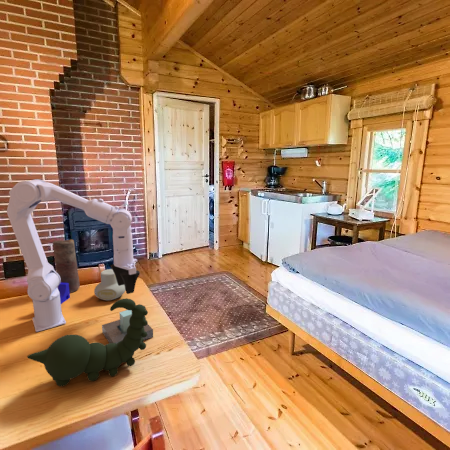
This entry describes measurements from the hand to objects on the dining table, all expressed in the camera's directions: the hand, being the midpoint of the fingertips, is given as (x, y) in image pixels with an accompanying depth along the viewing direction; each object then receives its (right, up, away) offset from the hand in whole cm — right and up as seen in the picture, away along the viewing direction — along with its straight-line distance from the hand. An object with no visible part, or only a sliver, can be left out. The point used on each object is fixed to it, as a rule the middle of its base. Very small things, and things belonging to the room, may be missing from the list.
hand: (125, 288), depth 96 cm
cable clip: (-28, -8, +9) cm, 30 cm away
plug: (+4, -12, -9) cm, 15 cm away
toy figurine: (+1, -15, -25) cm, 29 cm away
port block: (+4, -12, -9) cm, 15 cm away
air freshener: (-11, -7, +15) cm, 20 cm away
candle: (-29, -5, +21) cm, 36 cm away
